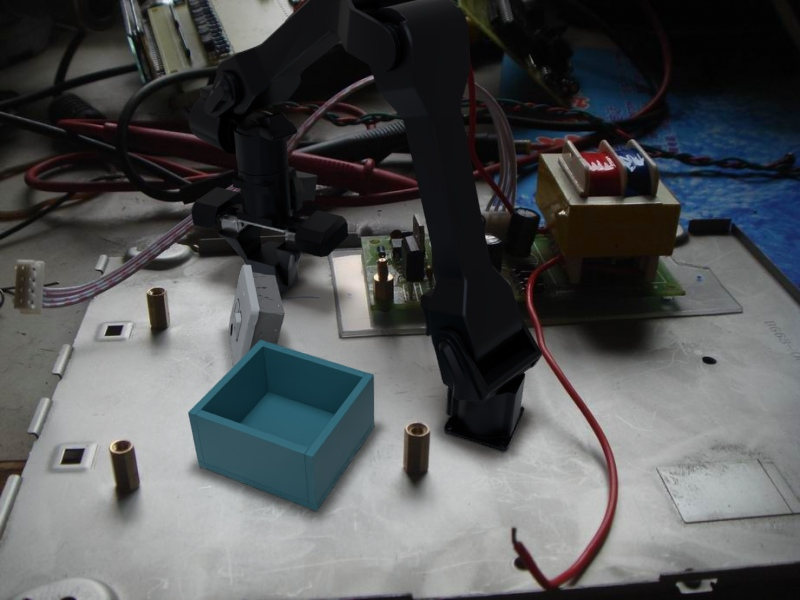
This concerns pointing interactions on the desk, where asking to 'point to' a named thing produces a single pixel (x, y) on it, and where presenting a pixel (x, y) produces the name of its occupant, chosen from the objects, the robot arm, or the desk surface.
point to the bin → (284, 422)
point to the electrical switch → (254, 312)
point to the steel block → (270, 265)
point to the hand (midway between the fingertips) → (274, 280)
